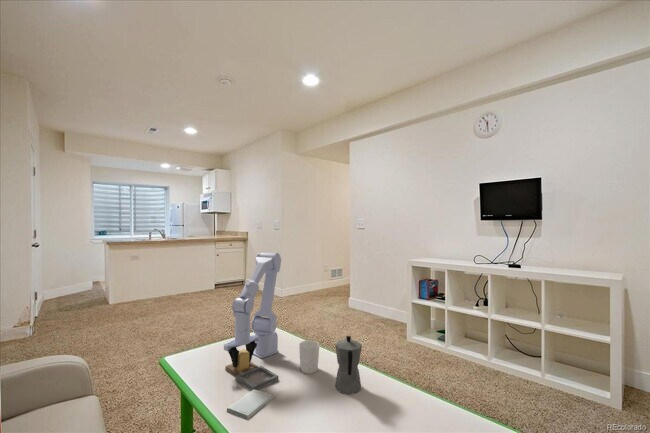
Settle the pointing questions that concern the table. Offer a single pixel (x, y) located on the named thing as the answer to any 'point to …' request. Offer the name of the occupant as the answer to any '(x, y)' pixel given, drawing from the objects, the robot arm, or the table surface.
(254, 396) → the hard drive
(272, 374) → the gray square frame
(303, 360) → the white cup
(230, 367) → the socket block
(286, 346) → the table surface
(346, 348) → the coffeepot
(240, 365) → the peg
